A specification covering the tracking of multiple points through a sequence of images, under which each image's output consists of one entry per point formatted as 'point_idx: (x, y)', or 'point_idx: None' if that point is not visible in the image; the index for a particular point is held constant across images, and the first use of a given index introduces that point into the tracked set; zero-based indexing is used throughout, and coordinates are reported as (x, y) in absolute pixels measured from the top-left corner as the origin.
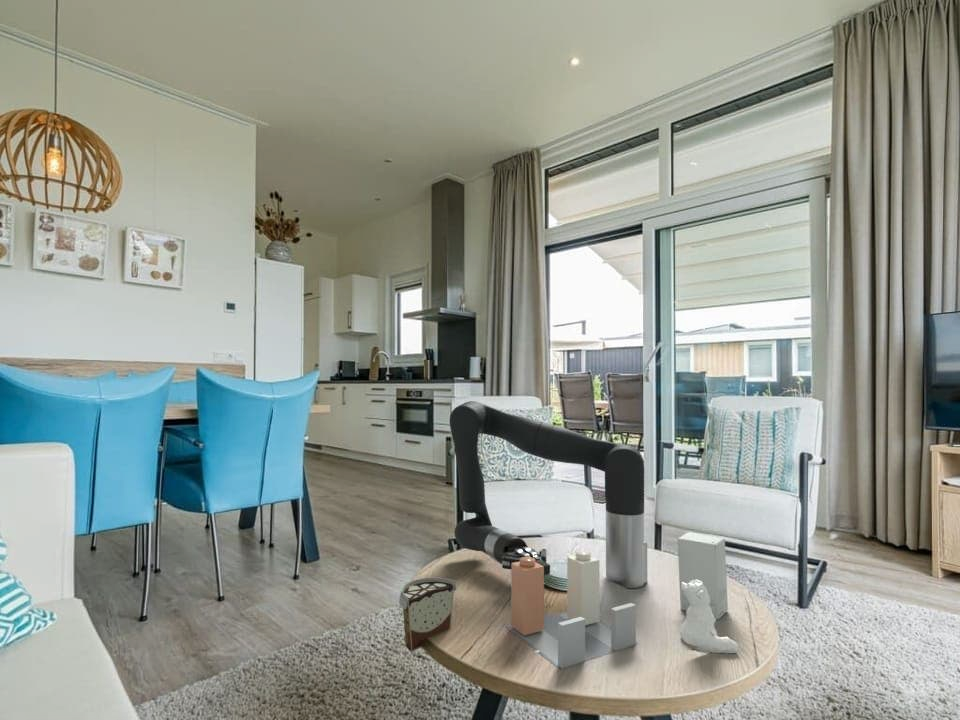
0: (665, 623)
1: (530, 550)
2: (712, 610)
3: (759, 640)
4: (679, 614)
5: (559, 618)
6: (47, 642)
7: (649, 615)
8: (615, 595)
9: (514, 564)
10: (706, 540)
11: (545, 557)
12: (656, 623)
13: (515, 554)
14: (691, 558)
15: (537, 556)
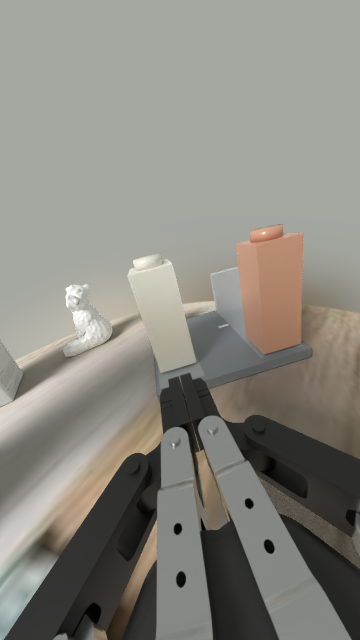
0: (76, 371)
1: (169, 605)
2: (17, 368)
3: (48, 347)
4: (34, 389)
5: (208, 367)
6: None
7: (67, 390)
8: (13, 479)
9: (295, 233)
10: None
11: (131, 456)
12: (84, 372)
13: (349, 616)
14: None
15: (166, 473)
